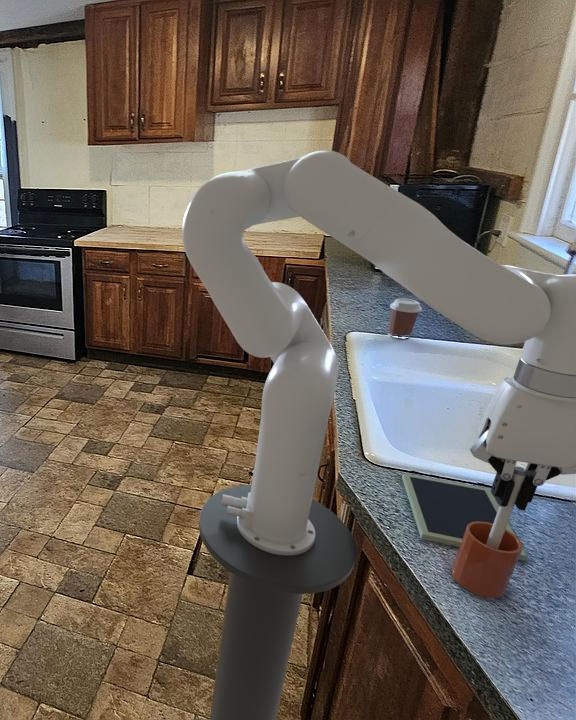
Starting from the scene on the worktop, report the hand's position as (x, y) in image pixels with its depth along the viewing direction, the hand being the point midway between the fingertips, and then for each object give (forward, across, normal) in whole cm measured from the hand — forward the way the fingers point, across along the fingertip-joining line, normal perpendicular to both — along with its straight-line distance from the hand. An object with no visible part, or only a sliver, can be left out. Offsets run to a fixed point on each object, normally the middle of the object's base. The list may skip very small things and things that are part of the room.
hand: (508, 501), depth 71 cm
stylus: (+8, 0, 0) cm, 8 cm away
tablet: (+14, -1, -16) cm, 21 cm away
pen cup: (+14, 0, 0) cm, 14 cm away
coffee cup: (+14, -7, -115) cm, 116 cm away
